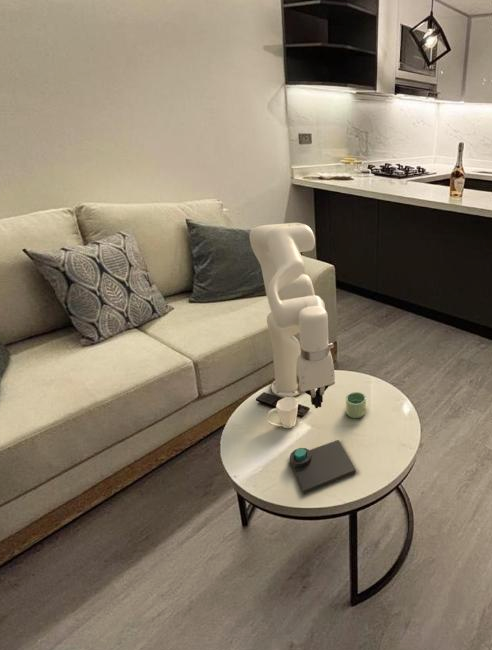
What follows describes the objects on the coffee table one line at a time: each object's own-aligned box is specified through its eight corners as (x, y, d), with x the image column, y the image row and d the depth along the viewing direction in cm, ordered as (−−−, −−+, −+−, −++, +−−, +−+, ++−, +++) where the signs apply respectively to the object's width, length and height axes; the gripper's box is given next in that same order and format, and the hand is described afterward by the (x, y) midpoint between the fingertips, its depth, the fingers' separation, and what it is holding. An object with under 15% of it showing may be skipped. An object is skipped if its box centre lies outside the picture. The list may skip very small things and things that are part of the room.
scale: (288, 460, 118) (287, 452, 117) (338, 442, 125) (337, 434, 124) (302, 495, 107) (301, 486, 106) (355, 473, 115) (355, 465, 113)
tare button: (293, 454, 116) (293, 450, 116) (304, 451, 118) (303, 447, 117) (297, 462, 114) (296, 457, 114) (307, 458, 116) (307, 454, 115)
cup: (302, 427, 130) (300, 407, 127) (270, 436, 126) (267, 415, 123) (297, 414, 136) (296, 394, 133) (266, 422, 132) (264, 401, 129)
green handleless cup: (343, 409, 139) (342, 395, 137) (360, 404, 142) (360, 390, 140) (350, 421, 134) (350, 406, 132) (368, 415, 137) (369, 400, 135)
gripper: (336, 338, 117) (337, 390, 124) (283, 350, 110) (287, 404, 117) (345, 351, 111) (346, 405, 118) (290, 364, 104) (294, 420, 111)
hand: (317, 404), depth 118 cm, fingers closed
